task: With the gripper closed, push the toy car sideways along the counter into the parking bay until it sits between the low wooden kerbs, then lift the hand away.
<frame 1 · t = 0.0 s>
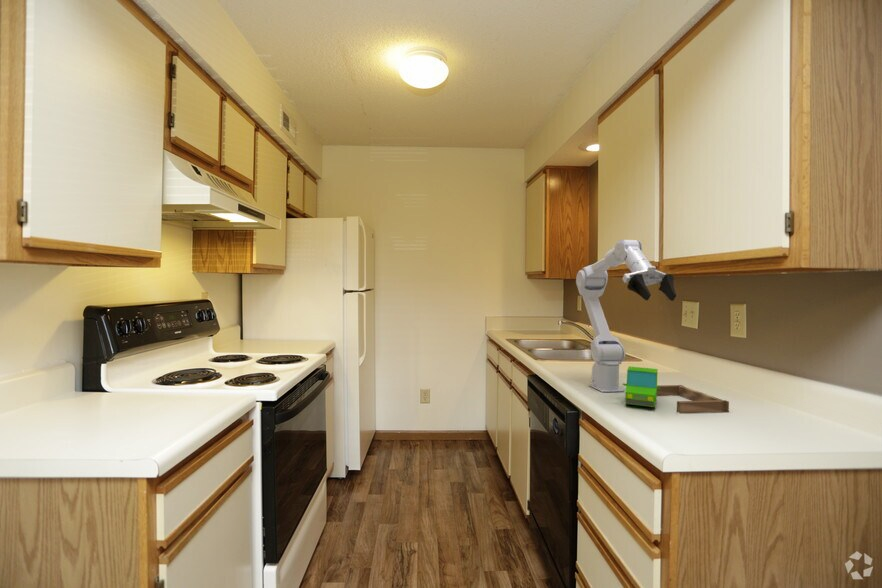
hand: (661, 297, 120), 32 cm above the worktop, tool tilted 50°, fingers open, 7 cm apart
parking bay: (677, 403, 132), on the worktop
toy car: (640, 405, 131), on the worktop
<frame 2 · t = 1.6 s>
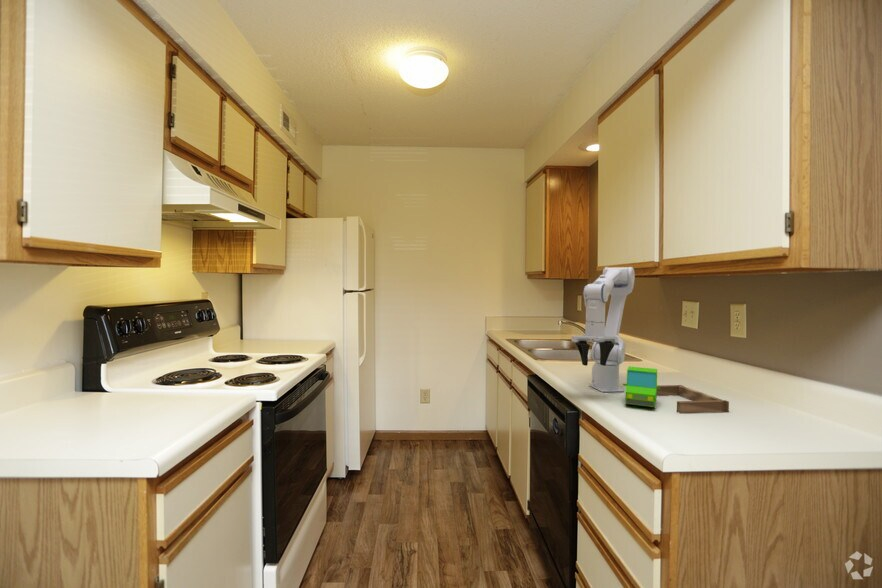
hand: (593, 365, 136), 10 cm above the worktop, tool pointing down, fingers open, 5 cm apart
nothing on the worktop moved.
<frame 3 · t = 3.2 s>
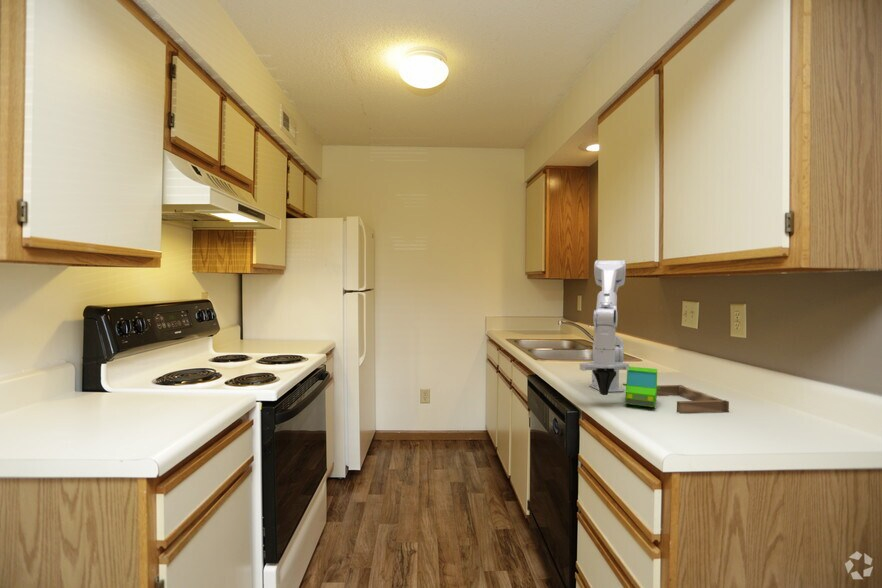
hand: (603, 394, 129), 3 cm above the worktop, tool pointing down, fingers closed
nothing on the worktop moved.
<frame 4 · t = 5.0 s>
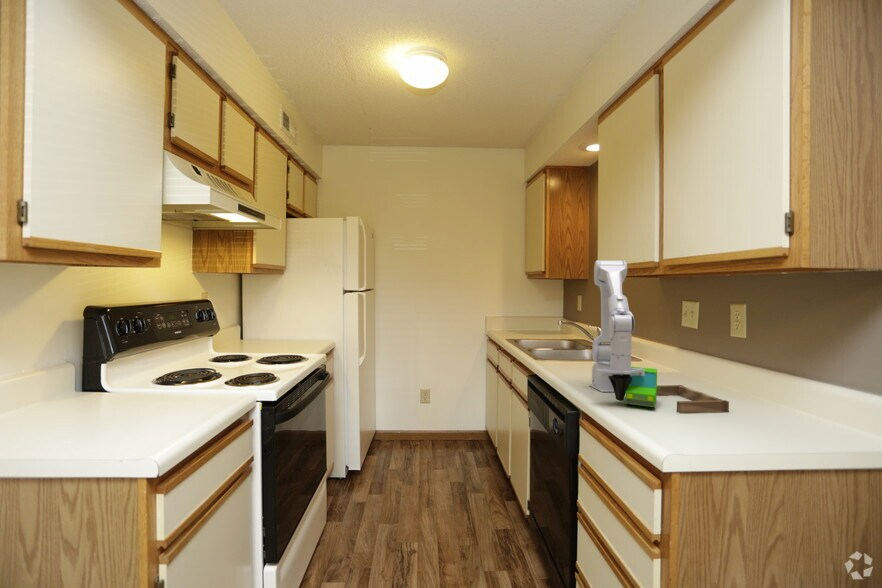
hand: (619, 399, 130), 1 cm above the worktop, tool pointing down, fingers closed
toy car: (640, 404, 131), on the worktop, touching gripper
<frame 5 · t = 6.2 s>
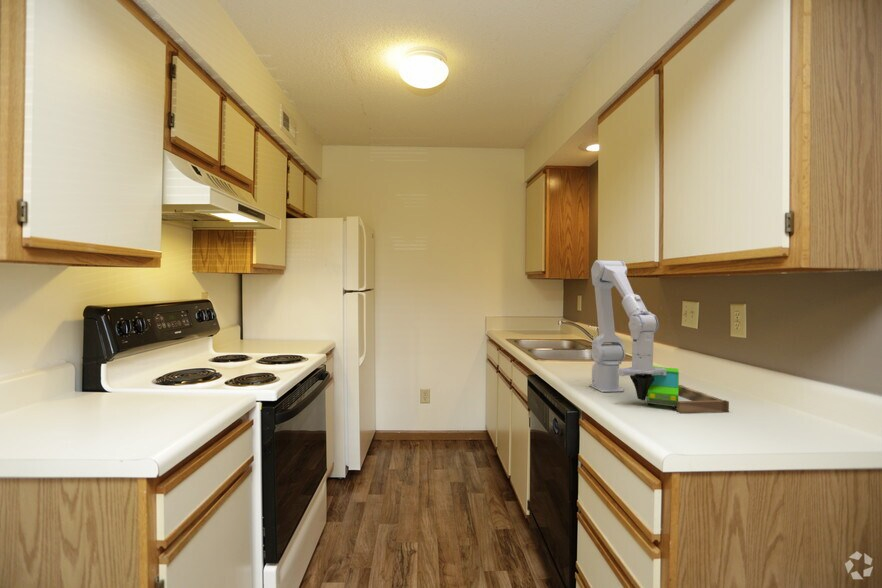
hand: (641, 399, 131), 1 cm above the worktop, tool pointing down, fingers closed
toy car: (662, 404, 131), on the worktop, touching gripper
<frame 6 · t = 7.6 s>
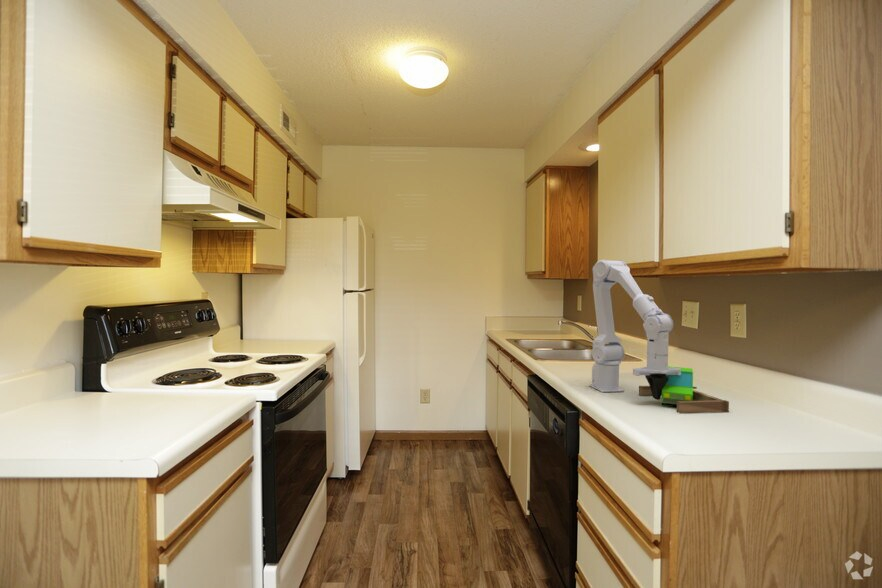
hand: (656, 398, 131), 1 cm above the worktop, tool pointing down, fingers closed
toy car: (676, 404, 132), on the worktop, touching gripper, parking bay
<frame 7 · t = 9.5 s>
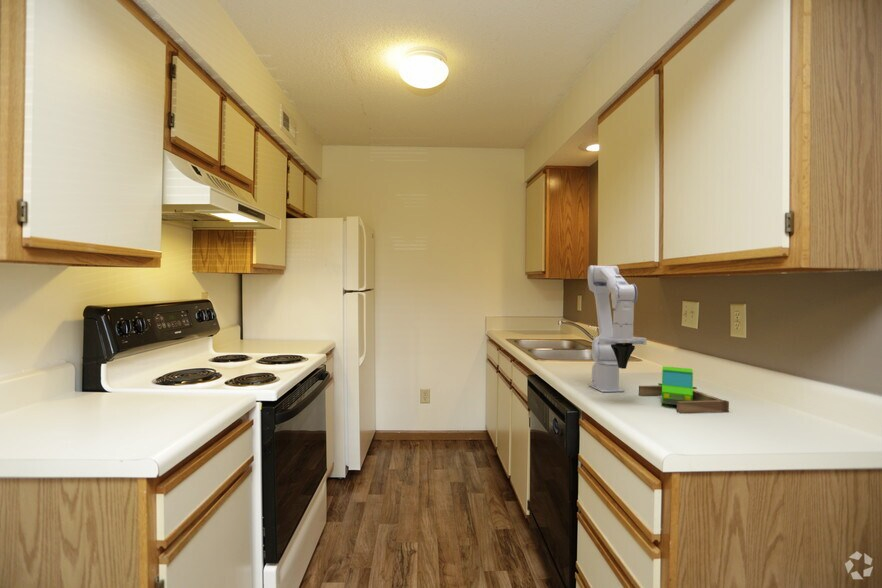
hand: (622, 368, 133), 10 cm above the worktop, tool pointing down, fingers closed
toy car: (676, 404, 132), on the worktop
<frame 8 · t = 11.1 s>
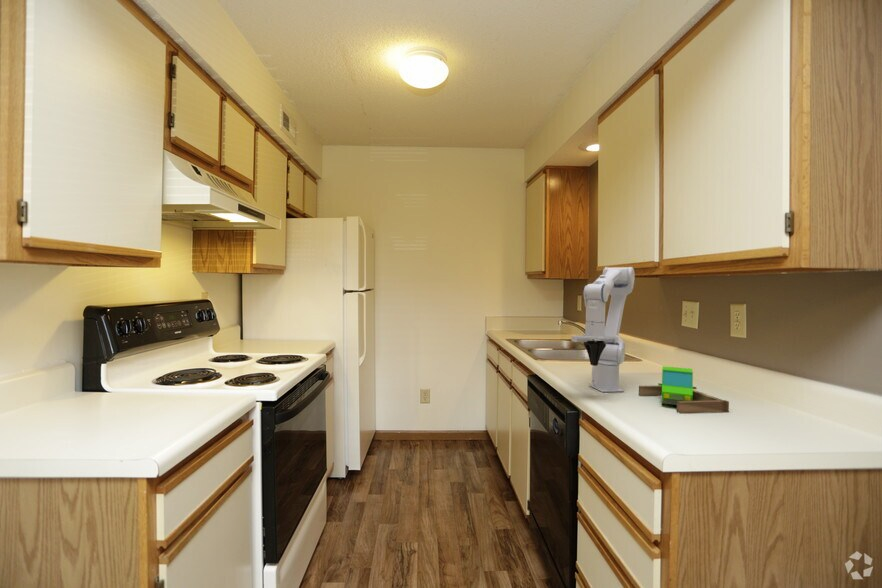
hand: (593, 365, 136), 10 cm above the worktop, tool pointing down, fingers closed
nothing on the worktop moved.
at the end: toy car inside the target area (1.1 cm from its centre), on the worktop; toy car tilted 0°; toy car moved 11.3 cm from its start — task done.
